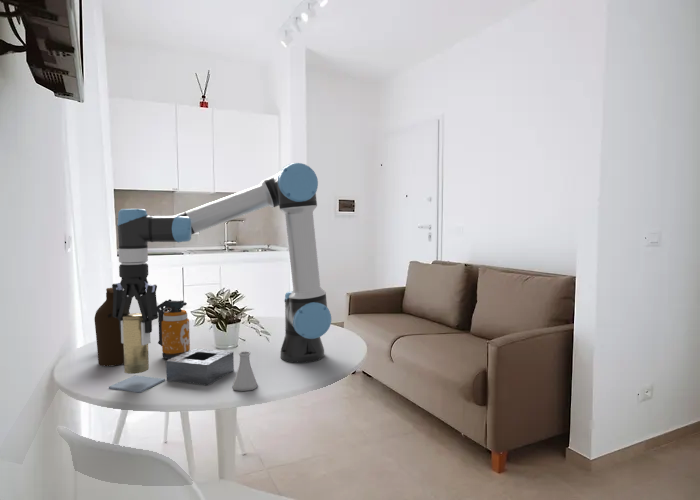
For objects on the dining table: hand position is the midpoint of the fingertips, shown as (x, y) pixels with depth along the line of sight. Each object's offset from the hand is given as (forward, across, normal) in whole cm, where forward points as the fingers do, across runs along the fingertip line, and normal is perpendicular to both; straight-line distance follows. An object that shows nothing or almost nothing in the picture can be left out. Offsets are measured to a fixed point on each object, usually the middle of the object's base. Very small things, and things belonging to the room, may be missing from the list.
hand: (135, 342), depth 132 cm
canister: (+12, +8, -26) cm, 30 cm away
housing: (+12, -13, -12) cm, 22 cm away
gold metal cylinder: (+8, 0, 0) cm, 8 cm away
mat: (+12, 0, 0) cm, 12 cm away
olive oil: (+12, +23, -15) cm, 30 cm away
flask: (+12, -31, -7) cm, 34 cm away
